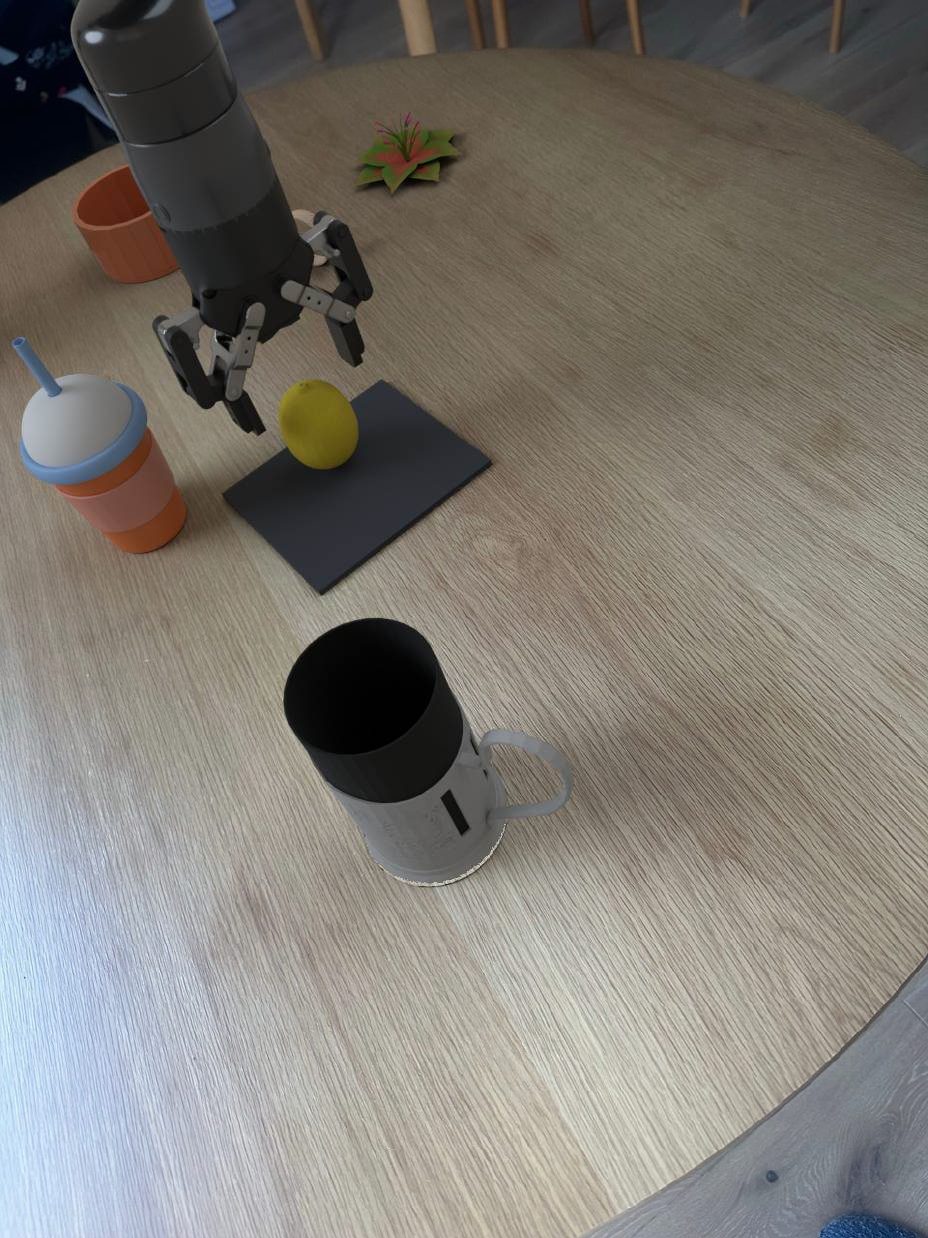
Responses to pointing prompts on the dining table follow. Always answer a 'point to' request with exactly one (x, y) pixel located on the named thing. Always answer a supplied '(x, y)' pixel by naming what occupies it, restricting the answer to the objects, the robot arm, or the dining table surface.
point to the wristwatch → (308, 219)
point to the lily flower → (405, 154)
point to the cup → (122, 229)
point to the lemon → (318, 424)
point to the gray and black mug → (405, 750)
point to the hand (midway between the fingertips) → (304, 394)
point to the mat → (357, 488)
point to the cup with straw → (100, 456)
